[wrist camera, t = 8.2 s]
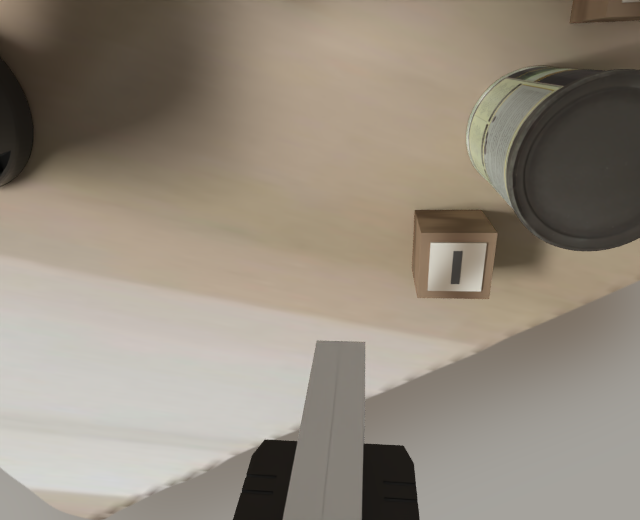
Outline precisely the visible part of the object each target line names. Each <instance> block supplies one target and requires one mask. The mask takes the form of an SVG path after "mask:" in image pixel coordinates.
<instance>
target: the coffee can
mask: <svg viewBox="0 0 640 520" xmlns="http://www.w3.org/2000/svg"><path fill="white" fill-rule="evenodd" d="M466 145H467V150H468V154H469V157H470V159H471V162H472V164H473V166H474V167H475V169H476V170H477V171H478V173H479V174H480V175H481V176H482V177H483V178H484V179H486V180H487V181H488V182H489V183H490V184H491V185H492V186H493V187H494V189H495V190H496V191H497V192H498V193H499V194H500V195H501V196H502V197H503V199H504V200H505V201H506V202H507V203H508V204H509V205H510V206H511V207H512V208H513V210H514V212H515V213H516V215H517V216H518V218H519V219H520V221H521V222H522V223H523V225H524V226H525V227H526V228H527V229H528V230H529V231H531V232H532V233H533V234H534V235H535V236H537V237H538V238H539V239H541V240H543V241H545V242H546V243H549V244H551V245H554V246H557V247H560V248H564V249H568V250H574V251H599V250H606V249H611V248H615V247H619V246H622V245H624V244H627V243H630V242H632V241H634V240H636V239H638V238H640V70H634V69H618V70H607V71H603V70H584V69H569V68H555V67H549V66H532V67H526V68H522V69H519V70H516V71H513V72H511V73H509V74H507V75H505V76H503V77H502V78H500V79H499V80H497V81H496V82H495V83H494V84H492V85H491V86H490V87H489V88H488V89H487V90H486V91H485V92H484V93H483V95H482V96H481V97H480V99H479V100H478V102H477V103H476V105H475V107H474V109H473V111H472V113H471V115H470V117H469V121H468V126H467V132H466Z"/></svg>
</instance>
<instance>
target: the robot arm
mask: <svg viewBox="0 0 640 520" xmlns="http://www.w3.org/2000/svg"><path fill="white" fill-rule="evenodd" d="M32 142H33V125H32V118H31V113H30V109H29V106H28V103H27V100H26V98H25V95H24V93H23V91H22V89H21V87H20V85H19V83H18V81H17V79H16V78H15V76H14V75H13V73H12V72H11V70H10V69H9V67H8V66H7V65H6V64H5V62H4V61H3V60H2V59H1V58H0V186H2V185H4V184H6V183H8V182H10V181H11V180H13V179H14V178H15V177H16V176H17V175H18V174H19V173H20V172H21V171H22V170H23V168H24V167H25V165H26V163H27V161H28V159H29V156H30V153H31V149H32ZM364 425H365V342H347V341H317V342H316V348H315V353H314V358H313V363H312V369H311V374H310V379H309V384H308V390H307V395H306V400H305V405H304V410H303V416H302V421H301V426H300V432H299V437H298V441H281V440H264V441H263V443H262V444H261V445H260V446H259V447H258V449H257V450H256V451H255V453H254V454H253V455H252V458H251V461H250V464H249V468H248V471H247V477H246V478H245V481H244V485H243V488H242V493H241V495H240V498H239V502H238V505H237V508H236V511H235V515H234V518H233V520H419V510H418V503H417V491H416V482H415V471H414V464H413V461H412V460H411V458H410V456H409V454H408V453H407V451H406V449H405V448H404V446H400V445H380V444H364V431H365V426H364Z"/></svg>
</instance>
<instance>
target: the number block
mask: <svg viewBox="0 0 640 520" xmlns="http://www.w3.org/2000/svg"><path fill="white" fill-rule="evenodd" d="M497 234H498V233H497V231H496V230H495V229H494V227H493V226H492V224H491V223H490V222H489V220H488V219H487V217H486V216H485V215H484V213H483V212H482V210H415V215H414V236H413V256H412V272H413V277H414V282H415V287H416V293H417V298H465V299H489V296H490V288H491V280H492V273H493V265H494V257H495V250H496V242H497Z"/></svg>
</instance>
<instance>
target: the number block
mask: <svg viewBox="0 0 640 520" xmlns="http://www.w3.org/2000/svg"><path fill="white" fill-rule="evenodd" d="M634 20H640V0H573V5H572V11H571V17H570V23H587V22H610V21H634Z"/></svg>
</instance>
